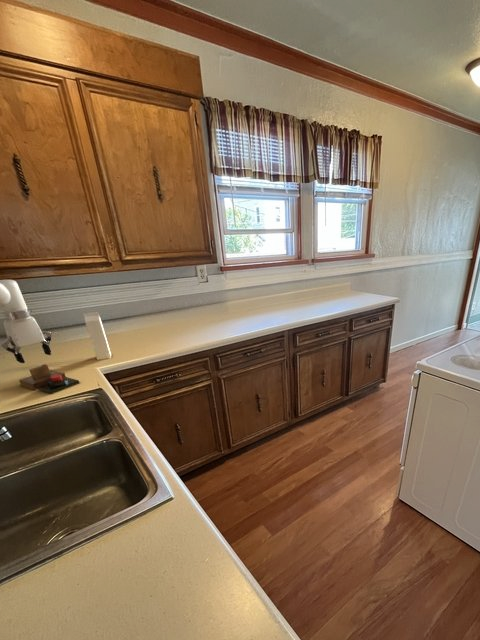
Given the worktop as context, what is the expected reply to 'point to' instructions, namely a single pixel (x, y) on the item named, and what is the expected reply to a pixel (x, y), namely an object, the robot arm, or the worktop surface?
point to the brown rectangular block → (40, 371)
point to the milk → (97, 335)
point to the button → (56, 378)
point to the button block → (58, 385)
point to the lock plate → (38, 380)
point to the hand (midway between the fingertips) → (35, 358)
